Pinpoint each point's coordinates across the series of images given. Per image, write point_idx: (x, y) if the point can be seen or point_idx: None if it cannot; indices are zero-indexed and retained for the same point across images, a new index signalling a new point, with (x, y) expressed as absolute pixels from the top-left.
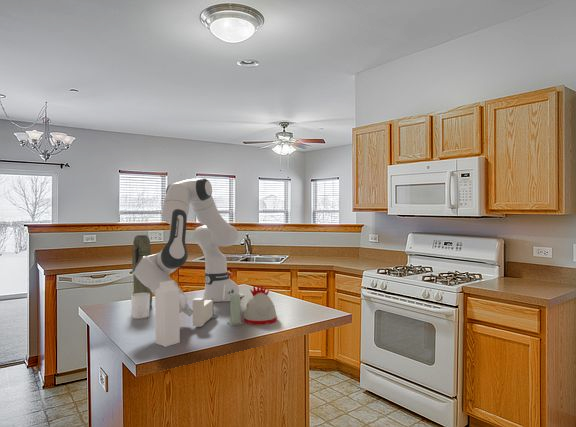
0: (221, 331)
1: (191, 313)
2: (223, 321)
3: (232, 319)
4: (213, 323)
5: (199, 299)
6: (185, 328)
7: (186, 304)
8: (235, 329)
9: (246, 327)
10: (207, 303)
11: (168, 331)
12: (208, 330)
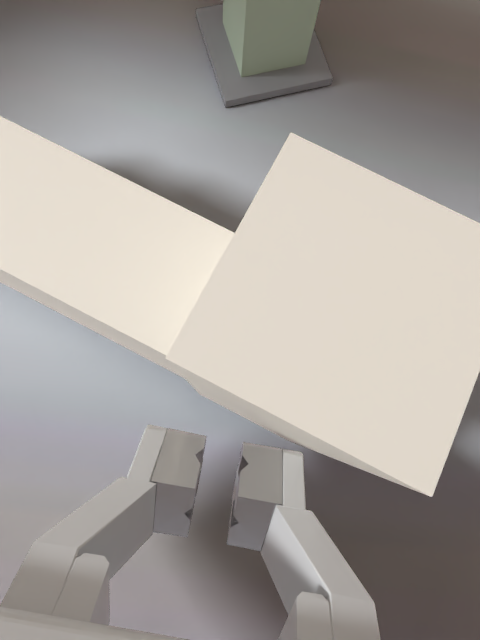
0: (454, 201)
1: (301, 470)
2: (140, 120)
3: (286, 36)
4: None
5: (440, 275)
6: None
7: (98, 593)
8: (429, 89)
9: (399, 4)
10: (27, 136)
11: None
12: None
